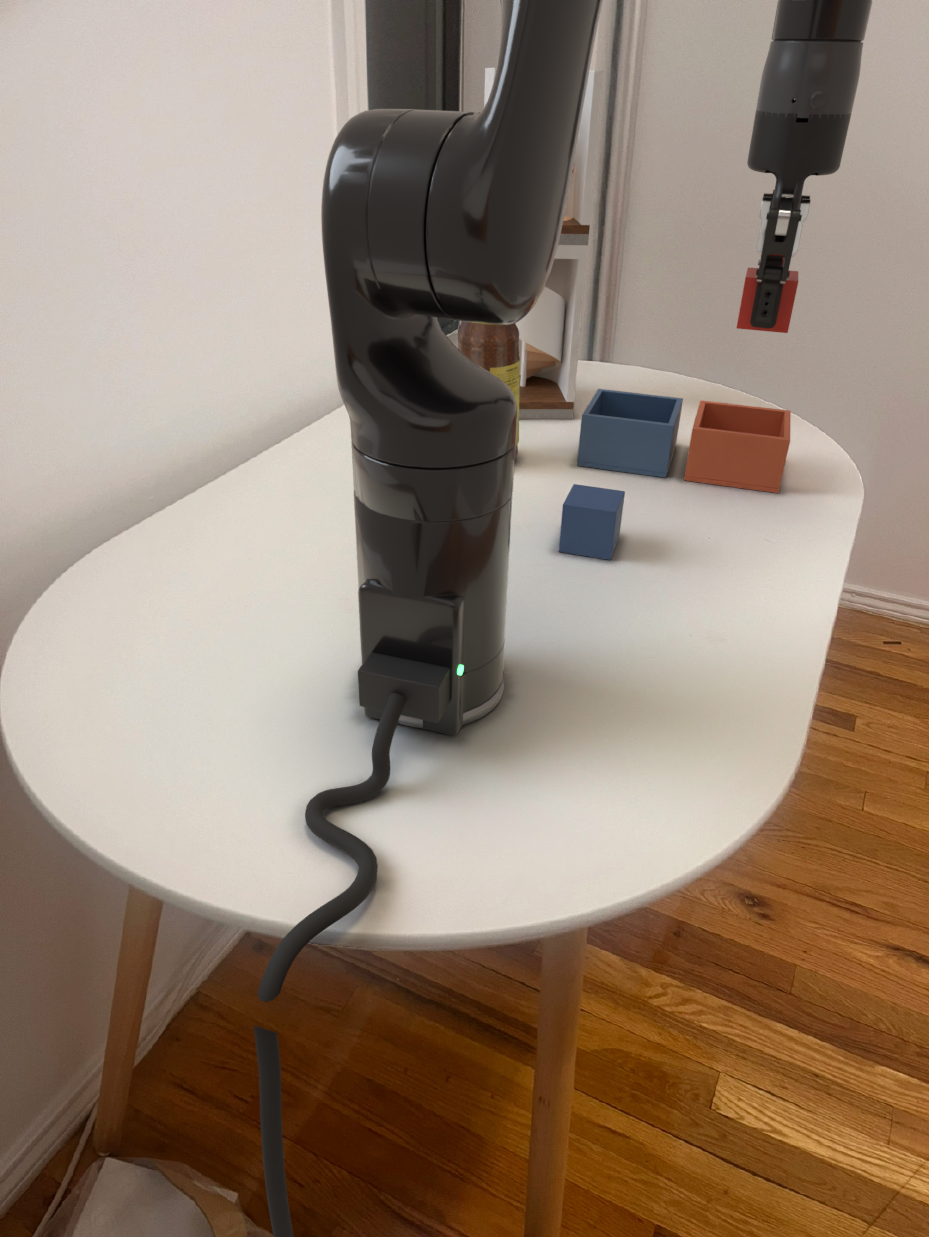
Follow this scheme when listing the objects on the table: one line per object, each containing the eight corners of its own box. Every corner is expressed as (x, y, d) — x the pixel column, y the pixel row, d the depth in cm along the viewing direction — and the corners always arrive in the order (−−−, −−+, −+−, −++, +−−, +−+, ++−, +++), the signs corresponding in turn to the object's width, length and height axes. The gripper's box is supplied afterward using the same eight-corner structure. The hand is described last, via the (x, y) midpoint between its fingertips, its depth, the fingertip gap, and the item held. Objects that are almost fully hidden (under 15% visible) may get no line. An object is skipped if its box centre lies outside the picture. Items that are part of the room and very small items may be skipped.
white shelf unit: (476, 388, 113) (485, 67, 95) (558, 388, 114) (583, 70, 95) (483, 418, 104) (494, 68, 85) (572, 418, 104) (603, 71, 86)
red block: (787, 333, 80) (798, 281, 77) (736, 328, 81) (745, 277, 78) (788, 321, 83) (798, 271, 81) (738, 317, 84) (747, 267, 82)
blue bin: (665, 478, 90) (673, 426, 87) (576, 465, 92) (581, 414, 89) (675, 447, 97) (683, 398, 94) (593, 436, 99) (598, 388, 96)
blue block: (610, 560, 74) (616, 511, 72) (558, 552, 75) (562, 503, 73) (619, 537, 78) (625, 490, 76) (569, 530, 79) (573, 483, 77)
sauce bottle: (519, 449, 96) (530, 254, 85) (516, 471, 90) (527, 266, 80) (459, 446, 96) (462, 251, 85) (452, 468, 91) (455, 263, 80)
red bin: (778, 493, 87) (790, 440, 84) (683, 480, 89) (692, 428, 86) (779, 460, 94) (790, 410, 92) (692, 449, 97) (700, 400, 94)
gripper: (759, 102, 79) (726, 299, 88) (753, 110, 68) (715, 335, 77) (848, 105, 77) (804, 306, 86) (857, 113, 66) (805, 344, 75)
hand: (763, 319), depth 82 cm, fingers closed on red block, 4 cm apart
